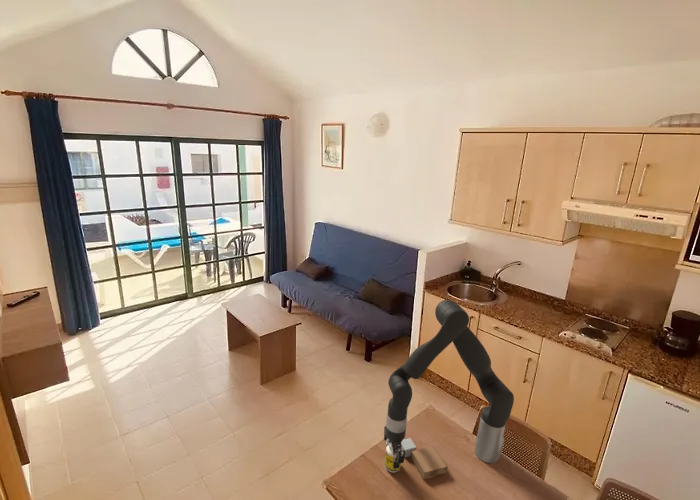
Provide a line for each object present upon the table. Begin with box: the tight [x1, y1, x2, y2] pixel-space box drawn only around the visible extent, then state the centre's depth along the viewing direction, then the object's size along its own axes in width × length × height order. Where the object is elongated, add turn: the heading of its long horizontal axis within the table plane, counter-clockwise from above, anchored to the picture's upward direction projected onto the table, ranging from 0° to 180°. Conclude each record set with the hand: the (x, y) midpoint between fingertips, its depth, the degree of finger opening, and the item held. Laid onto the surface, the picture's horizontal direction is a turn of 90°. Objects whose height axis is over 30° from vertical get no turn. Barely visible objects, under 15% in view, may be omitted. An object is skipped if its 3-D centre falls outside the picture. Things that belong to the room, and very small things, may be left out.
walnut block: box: [410, 445, 448, 480], centre depth 141 cm, size 10×10×4 cm
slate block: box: [401, 437, 417, 458], centre depth 147 cm, size 5×5×4 cm
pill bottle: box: [384, 441, 402, 473], centre depth 139 cm, size 6×6×11 cm
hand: (392, 459), depth 139 cm, fingers closed on pill bottle, 6 cm apart
